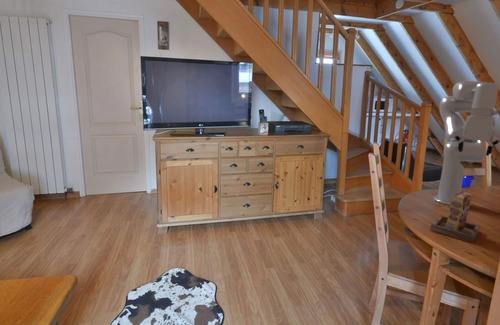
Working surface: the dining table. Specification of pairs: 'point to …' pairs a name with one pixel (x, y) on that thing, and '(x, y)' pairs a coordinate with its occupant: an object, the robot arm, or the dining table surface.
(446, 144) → the robot arm
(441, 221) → the tray
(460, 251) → the dining table surface
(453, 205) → the candy box
